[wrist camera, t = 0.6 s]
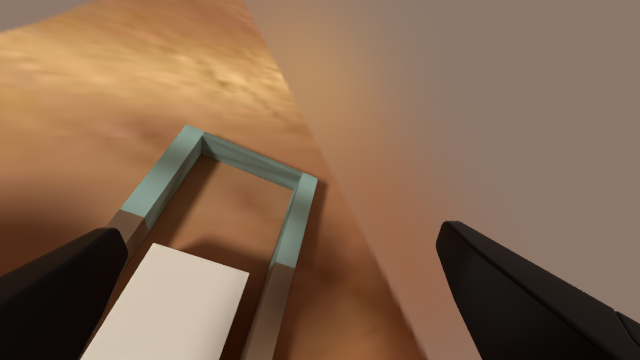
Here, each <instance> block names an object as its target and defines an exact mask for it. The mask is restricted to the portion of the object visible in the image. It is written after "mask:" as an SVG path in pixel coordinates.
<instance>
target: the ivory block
mask: <svg viewBox="0 0 640 360" xmlns="http://www.w3.org/2000/svg"><path fill="white" fill-rule="evenodd" d="M248 276H249V273H247V272H244V271H241V270H238V269H235V268H231V267H228V266H225V265H222V264H219V263H216V262H212V261H209V260H206V259H203V258H200V257H197V256H194V255H190V254H187V253H184V252H181V251H178V250H175V249H171V248H168V247H165V246H162V245H159V244H156V243H153V244H152V246H151V247H150V249H149V251H148V252H147V254H146V255H145V257H144V259H143V260H142V262H141V263H140V265H139V267H138V268H137V270H136V271H135V273H134V275H133V276H132V278H131V279H130V281H129V283H128V284H127V286H126V287H125V289H124V291H123V292H122V294H121V295H120V297H119V299H118V300H117V302H116V303H115V305H114V307H113V308H112V310H111V311H110V313H109V315H108V316H107V318H106V319H105V321H104V323H103V324H102V326H101V327H100V329H99V331H98V332H97V334H96V335H95V337H94V339H93V340H92V342H91V343H90V345H89V347H88V348H87V350H86V351H85V353H84V355H83V356H82V358H81V359H80V360H219V358H220V355H221V353H222V350H223V347H224V344H225V341H226V338H227V336H228V333H229V330H230V327H231V324H232V321H233V318H234V316H235V313H236V310H237V307H238V304H239V301H240V299H241V296H242V293H243V290H244V287H245V284H246V282H247V279H248Z"/></svg>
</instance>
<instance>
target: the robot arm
mask: <svg viewBox="0 0 640 360" xmlns="http://www.w3.org/2000/svg"><path fill="white" fill-rule="evenodd" d="M436 249H437V253H438V256H439V258H440V261H441V264H442V267H443V270H444V272H445V275H446V278H447V281H448V284H449V287H450V290H451V292H452V295H453V298H454V300H455V303H456V305H457V307H458V309H459V311H460V313H461V316H462V318H463V320H464V322H465V324H466V326H467V328H468V330H469V332H470V335H471V337H472V339H473V341H474V343H475V345H476V347H477V350H478V352H479V354H480V356H481V358H482V360H640V324H639V323H637V322H636V321H634V320H632V319H631V318H629V317H627V316H625V315H624V314H622V313H620V312H618V311H614V309H613V308H611V307H609V306H607V305H606V304H604V303H602V302H601V301H599V300H597V299H595V298H594V297H592V296H590V295H588V294H587V293H585V292H583V291H581V290H579V289H578V288H576V287H574V286H572V285H571V284H569V283H567V282H565V281H564V280H562V279H560V278H558V277H557V276H555V275H553V274H551V273H550V272H548V271H546V270H544V269H543V268H541V267H539V266H537V265H535V264H534V263H532V262H530V261H528V260H527V259H525V258H523V257H521V256H520V255H518V254H516V253H514V252H513V251H511V250H509V249H507V248H506V247H504V246H502V245H500V244H499V243H497V242H495V241H493V240H491V239H490V238H488V237H486V236H485V235H483V234H481V233H479V232H478V231H476V230H474V229H472V228H470V227H469V226H467V225H465V224H463V223H462V222H460V221H445V222H443V224H442V226H441V229H440V232H439V235H438V238H437V241H436ZM128 254H129V252H128V248H127V246H126V244H125V242H124V239H123V237H122V235H121V233H120V231H119V230H118V229H117V228H114V227H109V228H97V229H95V230H93V231H91V232H89V233H87V234H85V235H83V236H81V237H79V238H77V239H75V240H73V241H71V242H69V243H67V244H65V245H63V246H61V247H59V248H57V249H55V250H53V251H51V252H49V253H47V254H45V255H43V256H41V257H39V258H37V259H35V260H33V261H31V262H29V263H27V264H25V265H23V266H21V267H19V268H17V269H15V270H13V271H11V272H9V273H7V274H5V275H3V276H1V277H0V360H78V359H79V357H80V356H81V354H82V352H83V350H84V348H85V347H86V345H87V343H88V341H89V339H90V338H91V336H92V334H93V332H94V330H95V329H96V327H97V325H98V323H99V321H100V319H101V317H102V315H103V314H104V311H105V309H106V307H107V305H108V303H109V301H110V298H111V296H112V294H113V291H114V289H115V287H116V284H117V282H118V280H119V278H120V275H121V273H122V271H123V268H124V266H125V264H126V261H127V259H128Z"/></svg>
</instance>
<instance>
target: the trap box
mask: <svg viewBox="0 0 640 360" xmlns="http://www.w3.org/2000/svg"><path fill="white" fill-rule="evenodd" d="M200 154H203V155H206V156H208V157H211V158H213V159H216V160H218V161H221V162H223V163H226V164H228V165H231V166H233V167H236V168H238V169H241V170H243V171H246V172H248V173H251V174H253V175H256V176H258V177H261V178H263V179H266V180H268V181H271V182H273V183H276V184H278V185H281V186H284V187H286V188H289V189H291V190H293V193H292V196H291V199H290V202H289V205H288V208H287V212H286V215H285V218H284V221H283V224H282V227H281V230H280V234H279V237H278V240H277V243H276V246H275V249H274V252H273V256H272V259H271V262H270V265H269V268H268V271H267V275H266V278H265V281H264V284H263V287H262V290H261V293H260V297H259V300H258V303H257V306H256V309H255V312H254V315H253V319H252V322H251V325H250V328H249V331H248V334H247V337H246V341H245V344H244V347H243V350H242V353H241V356H240V359H239V360H272V358H273V354H274V350H275V346H276V342H277V338H278V334H279V330H280V326H281V322H282V318H283V314H284V310H285V306H286V303H287V299H288V295H289V291H290V287H291V283H292V279H293V275H294V271H295V267H296V263H297V259H298V255H299V251H300V247H301V243H302V239H303V235H304V232H305V228H306V224H307V220H308V216H309V212H310V208H311V204H312V200H313V196H314V192H315V188H316V184H317V180H318V178H315V177H313V176H310V175H308V174H306V173H303V172H301V171H298V170H296V169H294V168H291V167H289V166H286V165H284V164H282V163H279V162H277V161H274V160H272V159H270V158H267V157H265V156H262V155H260V154H257V153H255V152H253V151H250V150H248V149H245V148H243V147H241V146H238V145H236V144H233V143H231V142H229V141H226V140H224V139H221V138H219V137H217V136H214V135H212V134H209V133H207V132H205V131H202V130H200V129H197V128H195V127H192V126H190V125H188V124H187V125H186V126H185V127H184V128H183V130H182V131H181V132H180V134H179V135H178V136H177V137H176V139H175V140H174V141H173V142H172V144H171V145H170V146H169V147H168V149H167V150H166V151H165V153H164V154H163V155H162V156H161V158H160V159H159V160H158V161H157V163H156V164H155V165H154V166H153V168H152V169H151V170H150V172H149V173H148V174H147V175H146V177H145V178H144V179H143V180H142V182H141V183H140V184H139V186H138V187H137V188H136V189H135V191H134V192H133V193H132V194H131V196H130V197H129V198H128V199H127V201H126V202H125V203H124V205H123V206H122V207H121V208H120V210H119V211H118V212H117V213H116V215H115V216H114V217H113V218H112V220H111V221H110V222H109V224H108V225H107V226H106V227H105V228H109V227H114V228H117V229H118V230H119V231H120V233H121V235H122V237H123V239H124V242H125V244H126V246H127V248H128V252H129V254H128V259H127V261H126V264H125V266H124V268H123V270H124V269H125V267H126V266H127V264H128V263H129V261H130V260H131V258H132V257H133V255H134V254H135V252H136V251H137V249H138V248H139V246H140V245H141V243H142V242H143V240H144V239H145V237H146V236H147V234H148V233H149V231H150V229H151V228H152V226H153V225H154V223H155V222H156V220H157V219H158V217H159V216H160V214H161V213H162V211H163V210H164V208H165V207H166V205H167V204H168V202H169V201H170V199H171V198H172V196H173V195H174V193H175V192H176V190H177V189H178V187H179V186H180V184H181V183H182V181H183V180H184V178H185V177H186V175H187V174H188V172H189V171H190V169H191V168H192V166H193V165H194V163H195V162H196V160H197V159H198V157H199V156H200ZM122 272H123V271H122Z"/></svg>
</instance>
